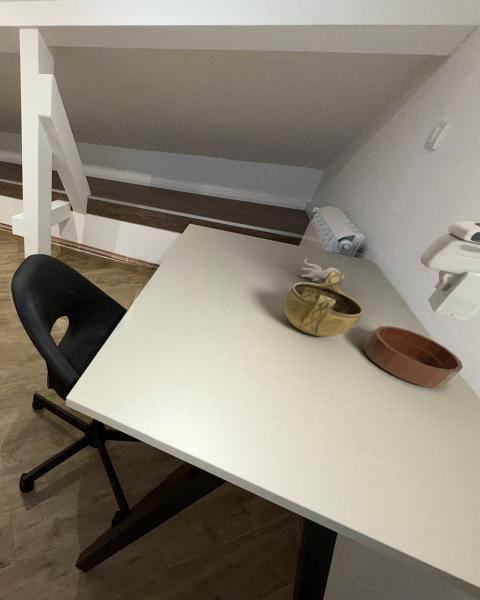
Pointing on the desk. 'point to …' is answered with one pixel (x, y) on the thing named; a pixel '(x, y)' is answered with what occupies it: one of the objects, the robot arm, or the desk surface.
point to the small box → (458, 297)
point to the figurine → (317, 272)
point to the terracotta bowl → (412, 356)
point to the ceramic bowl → (322, 307)
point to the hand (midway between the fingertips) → (460, 294)
